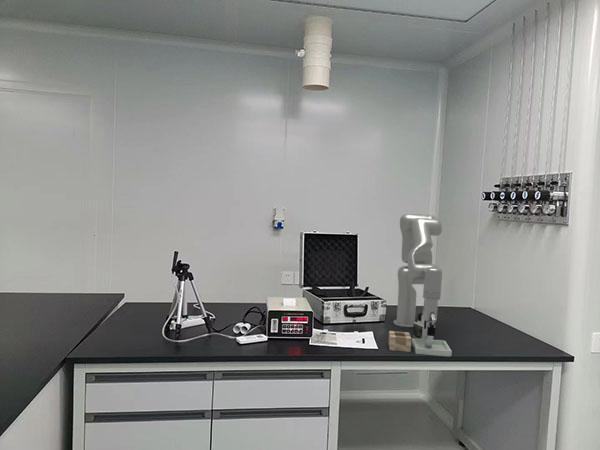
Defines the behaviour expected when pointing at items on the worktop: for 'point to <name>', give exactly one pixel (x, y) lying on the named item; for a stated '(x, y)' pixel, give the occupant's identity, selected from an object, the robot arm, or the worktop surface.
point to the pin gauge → (428, 339)
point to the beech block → (399, 341)
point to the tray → (437, 347)
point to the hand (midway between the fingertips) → (429, 332)
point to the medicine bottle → (419, 328)
